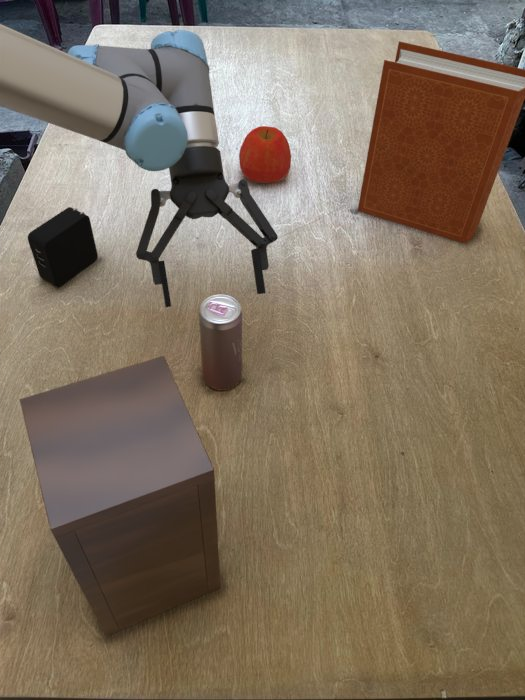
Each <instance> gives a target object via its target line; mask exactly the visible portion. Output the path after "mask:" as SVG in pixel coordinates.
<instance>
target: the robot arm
mask: <svg viewBox="0 0 525 700" xmlns="http://www.w3.org/2000/svg"><path fill="white" fill-rule="evenodd" d="M212 92H213V91H212V85H211V78H210V66H209V62H208V58H207V53H206V49H205V45H204V42H203V39H202V38H201V37H200V36H199V35H198V34H197V33H195V32H193V31H190V30H186V29H177V30H174V31H171V30H168V31H164V32H161V33H158V34H157V35H156V36H155V37H154V38H152V40H151V42H150V48H137V47H122V46H110V45H100V44H98V43H96V44H89V45H88V44H87V45H86V44H83V45H82V44H81V45H80V44H79V45H73V46H71V47H70V48H69V49H68V51H67V52H65V51H63V50H60V49H59V48H56V47H54V46H51V45H49V44H47V43H45V42H43V41H40V40H38V39H37V38H33V37H31V36H29V35H27V34H24V33H22V32H20V31H18V30H15V29H13V28H10V27H8V26H6V25H4V24H2V23H0V107H2V108H4V109H7V110H10V111H13V112H16V113H19V114H22V115H24V116H27V117H30V118H33V119H35V120H39V121H41V122H44V123H47V124H50V125H52V126H56V127H59V128H61V129H64V130H67V131H69V132H73V133H76V134H79V135H80V136H81V135H82V136H85V137H87V138H89V139H90V138H91V139H93V140H96V141H98V142H102V143H103V144H107V145H110V146H112V147H115V148H118V149H120V150H123V151H124V152H125V154H126V156H127V157H128V159H130V160H131V161H132V162H133V163H135V165H137V167H138V168H141V169H142V170H145V171H149V172H160V171H165V170H167V169H168V171H169V172H168V173H169V178H170V184H171V185H170V186H171V187H170V190H160V189H157V188H153V189H152V190H151V191H150V208H149V211H148V215H147V218H146V220H145V225H144V227H143V230H142V234H141V236H140V239H139V243H138V245H137V249H136V251H135V252H136V253H135V256H136V258H137V260H141V261H146V262H148V263H149V265H150V269H151V276H152V282H153V283H154V285H155V286H157V285H161V286H162V287H161V288H162V294H163V301H164V307H165V308H172V302H171V295H170V289H169V282H168V275H167V269H166V262H165V260H160V258H161V256H162V254H163V253H164V251H165V250H166V248H167V247H168V245H169V243H170V242H171V240H172V238H173V237H174V235H175V234H176V232H177V230H178V229H179V227H180V226H181V224H182V223H183V221H184V219H185V218H188V219H191V220H199V219H200V218H202V217H203V218H213V217H215V216H217V215H220V217H221V218H223V219H224V220H226V221H227V222H228V223H229V224H230V225H231V226H233V228H234V229H236V230H237V231H238V233H240V234H241V235H242V236H243V237H244V238H245V239H246V240H247V241H248V242H249V243H251V244H252V246H254V247H255V248H253V249H251V250H250V253H251V259H252V268H253V273H254V275H253V276H254V280H255V289H256V295H263V294H266V287H265V279H264V272H263V271H267V270H269V267H270V263H269V258H268V250H267V248H268V246H269V245H270V244H272V243H274V242H276V241H277V240H278V239H279V238H278V236H279V235H278V234H277V233H276V230H275V229H274V228H273V226H272V225H271V223H270V222H269V221H268V219H267V217H266V216H265V214H264V213H263V211H262V210H261V208H260V207H259V205H258V203H257V202H256V201H255V199H254V197H253V196H252V194H251V192H250V188H249V184H248V181H247V180H246V179H245V178H241V179H240V180H239V181H236V182H233V183H227V181H226V179H225V176H224V168H223V160H222V154H221V151H220V150H219V148H217V147H218V146H219V145H220V140H219V133H218V127H217V121H216V115H215V107H214V101H213V94H212ZM229 193H231V194H233V196H234V197H235V198H237V199H239V201H240V202H241V204H242V206H243V207H244V209H245V210H246V211H247V214H248V215H249V216H250V218H251V219H252V220H253V223H255V225H256V227H257V228H258V230H259V231H260V233H261V234H262V236H263V237H262V236H261V234H259V233H258V232H257V231H256V230H255V229H254V228H253V227H252V226H250V224H249V223H247V221H245V220H244V219H243V218H242V217H241V216H240V215H239V214H238V212H236V211H234V209H233V208H232V207H231V206H230V205H229V204H228V203H227V202H226V199H227V197H228V195H229ZM168 200H170V201H171V202H172V204H174V205H175V207H177V208H178V209H177V211H176V213H175V214H174V216H173V217H172V219H171V221H170V222H169V224H168V225H167V227H166V228H165V231H164V232H163V233H162V235H161V236H160V238H159V240H158V242H157V243H156V245H155V246H154V248H153V249H152V251H148V247H149V245H150V242H151V239H152V235H153V232H154V229H155V226H156V223H157V220H158V217H159V214H160V208H163V207H165V205H166V203H167V201H168Z"/></svg>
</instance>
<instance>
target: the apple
mask: <svg viewBox="0 0 525 700" xmlns="http://www.w3.org/2000/svg"><path fill="white" fill-rule="evenodd" d="M238 154H239V155H238V160H239V168H240V170H241V173H242V175H243V176H244V177H245V178H246V179H247V180H248V181H250V182H253V183H259V184H273V183H278V182H279V181H281V180H283V179H284V178H285V177H286V176H287V175H288V174H289V171H290V169H291V165H292V152H291V146H290V144H289V140H288V138H287V137H286V135H285V134H284V133H283V131H281V130H280V129H279V128H277V127H274V126H267V125H261V126H257V127H255V128H253V129H251V131H249V132H248V133H247V134H246V136H245V137H244V139H243V141H242V143H241V146H240V149H239V153H238Z"/></svg>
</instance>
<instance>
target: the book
mask: <svg viewBox="0 0 525 700" xmlns="http://www.w3.org/2000/svg"><path fill="white" fill-rule="evenodd" d="M381 70H382V71H381V76H380V82H379V87H378V92H377V99H376V104H375V110H374V114H373V115H374V116H373V122H372V125H371V126H372V127H371V132H370V138H369V143H368V149H367V155H366V156H367V157H366V161H365V167H364V173H363V177H362V183H361V189H360V194H359V200H358V207H357V212H360V213H363V214H367V215H370V216H373V217H377V218H380V219H383V220H385V221H386V220H387V221H389V222H392V223H396V224H399V225H403V226H406V227H409V228H413V229H416V230H419V231H423V232H426V233H429V234H432V235H434V236H435V235H436V236H439V237H442V238H445V239H449V240H452V241H455V242H458V243H463V244H467V243H468V242H470V241H471V240H473V238H474V237H475V235H476V233H477V231H478V228H479V225H480V222H481V221H482V220H481V219H482V217H483V214H484V212H485V209H486V206H487V203H488V201H489V198H490V196H491V195H490V194H491V192H492V189H493V187H494V184H495V181H496V179H497V176H498V172H499V170H500V167H501V165H502V162H503V160H504V156H505V154H506V151H507V148H508V146H509V142H510V141H511V137H512V134H513V132H514V129H515V126H516V124H517V121H518V118H519V115H520V112H521V110H522V107H523V104H524V101H525V68H521V67H516V66H511V65H507V64H502V63H498V62H494V61H490V60H485V59H480V58H475V57H472V56H468V55H467V56H466V55H463V54H458V53H453V52H449V51H444V50H440V49H435V48H431V47H426V46H422V45H418V44H413V43H408V42H405V41H400V40H399V41H398V43H397V49H396V54H395V60H394V61H393V60H387V59H384V60H383V65H382V69H381Z"/></svg>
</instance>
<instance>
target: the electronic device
mask: <svg viewBox="0 0 525 700" xmlns="http://www.w3.org/2000/svg"><path fill="white" fill-rule="evenodd" d="M27 241H28V244H29V248H30V250H31V254H32V257H33V260H34V264H35V266H36V269H37V272H38V275H39V278H40V279H42V280H44V281H46V282H47V283H49V284H50V285H52V286H54V287H56V288H61V287H63V286H64V285H66V284H67V283H68V282H69V281H71V280H72V279H73V278H75V277H76V276H77V275H79V274H80V273H82V272H83V271H84V270H86V269H87V268H88V267H90V266H91V265H93V264H94V263H95V262H96V261H97V260H98V256H99V255H98V251H97V246H96V242H95V241H96V240H95V236H94V232H93V227H92V222H91V219H90V216H89V215H87V214H85V212H84V211H80V210H78V208H73V207H71V206H69V207H67V208H65V209H63V210H62V211H60V212H59V213H57V214H56V215H54V216H53V217H51V218H50V219H48V220H46V221H45V222H43V223H42V224H40V225H39V226H38V227H36V228H34V229H32V231H30V232H29V233H28V235H27Z"/></svg>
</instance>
